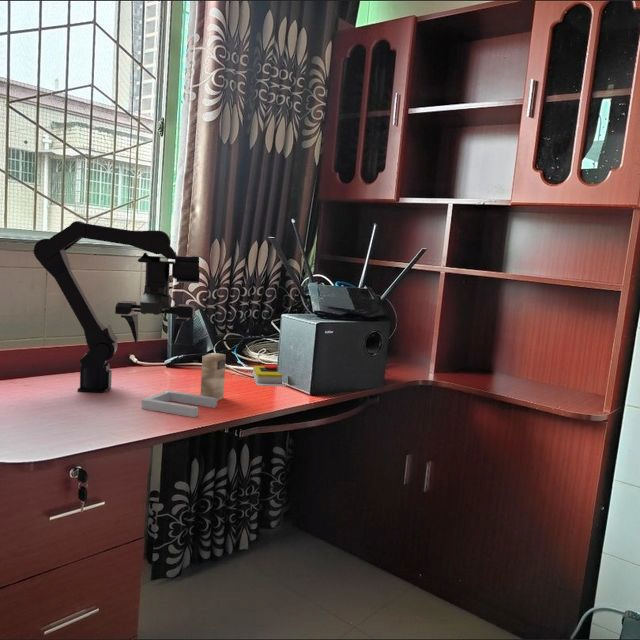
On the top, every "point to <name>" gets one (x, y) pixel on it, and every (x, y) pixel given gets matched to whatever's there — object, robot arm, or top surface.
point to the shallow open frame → (161, 404)
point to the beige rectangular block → (213, 375)
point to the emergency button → (267, 375)
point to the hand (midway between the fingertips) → (155, 343)
